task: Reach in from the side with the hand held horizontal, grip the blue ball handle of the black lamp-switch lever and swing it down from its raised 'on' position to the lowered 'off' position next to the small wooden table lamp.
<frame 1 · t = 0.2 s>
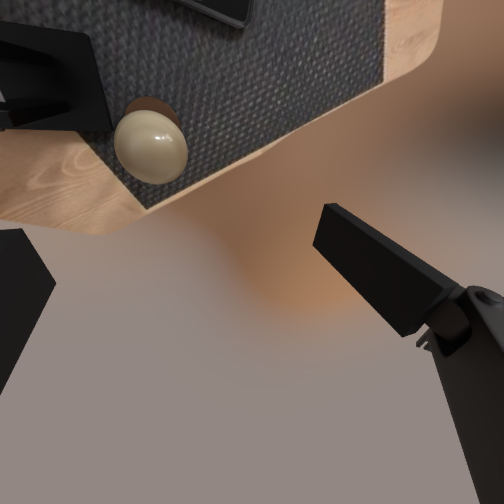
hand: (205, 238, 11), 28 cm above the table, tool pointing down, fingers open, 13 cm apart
switch bracket: (41, 82, 24), on the table
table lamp: (154, 127, 30), on the table
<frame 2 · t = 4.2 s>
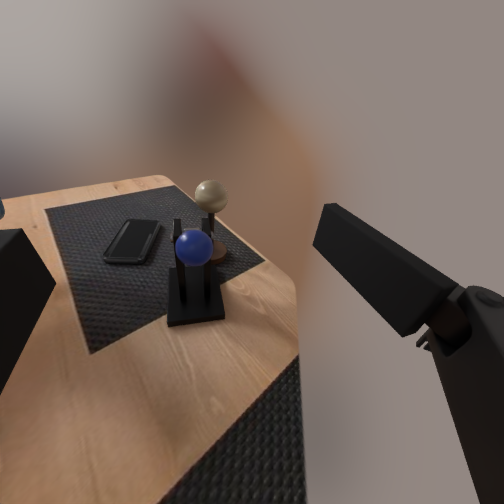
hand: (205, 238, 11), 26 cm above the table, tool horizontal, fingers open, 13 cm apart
phone: (136, 241, 49), on the table
switch lever: (193, 241, 26), point 16 cm above the table, hinge at 30.0°
switch bracket: (195, 294, 40), on the table
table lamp: (210, 254, 49), on the table
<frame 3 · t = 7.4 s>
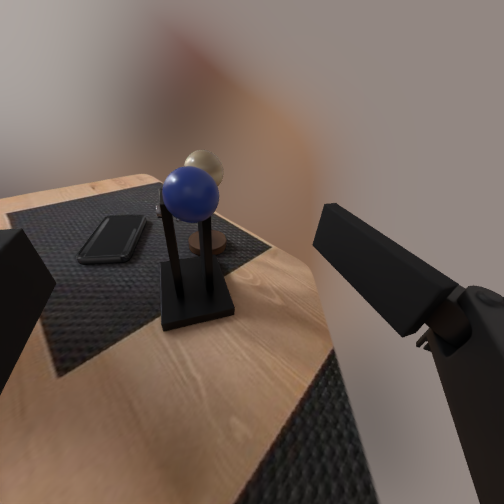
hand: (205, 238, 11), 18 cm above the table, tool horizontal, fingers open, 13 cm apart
phone: (118, 239, 41), on the table
switch lever: (187, 204, 19), point 16 cm above the table, hinge at 30.0°
switch bracket: (194, 289, 32), on the table
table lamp: (207, 245, 42), on the table
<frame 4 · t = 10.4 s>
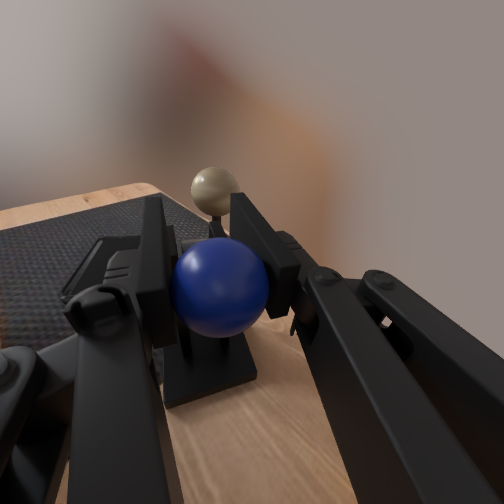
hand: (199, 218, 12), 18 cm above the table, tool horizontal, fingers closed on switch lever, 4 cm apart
phone: (111, 267, 35), on the table
switch lever: (204, 264, 13), point 16 cm above the table, hinge at 30.0°, touching gripper
switch bracket: (204, 340, 26), on the table
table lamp: (217, 274, 35), on the table
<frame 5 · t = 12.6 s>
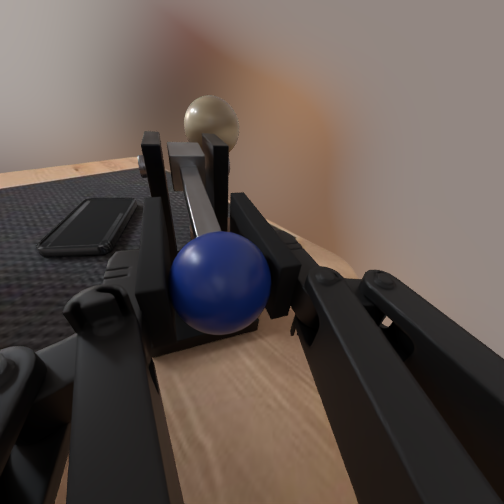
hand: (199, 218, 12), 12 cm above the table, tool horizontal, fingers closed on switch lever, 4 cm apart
phone: (98, 225, 32), on the table
switch lever: (198, 206, 11), point 12 cm above the table, hinge at -5.3°, touching gripper
switch bracket: (198, 292, 23), on the table
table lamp: (214, 234, 32), on the table
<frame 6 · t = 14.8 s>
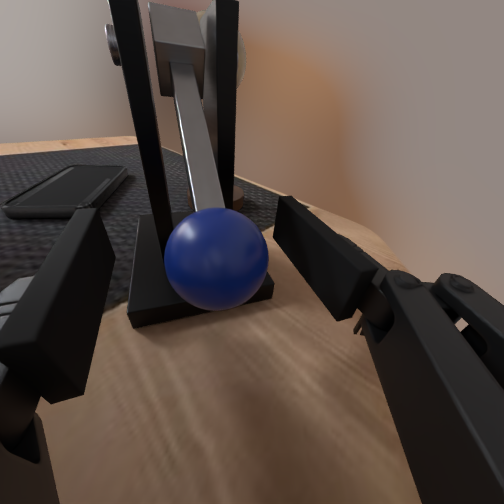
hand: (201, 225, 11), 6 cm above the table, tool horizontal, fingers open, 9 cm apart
phone: (81, 191, 28), on the table
switch lever: (195, 143, 9), point 10 cm above the table, hinge at -33.9°
switch bracket: (196, 257, 19), on the table
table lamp: (216, 202, 28), on the table
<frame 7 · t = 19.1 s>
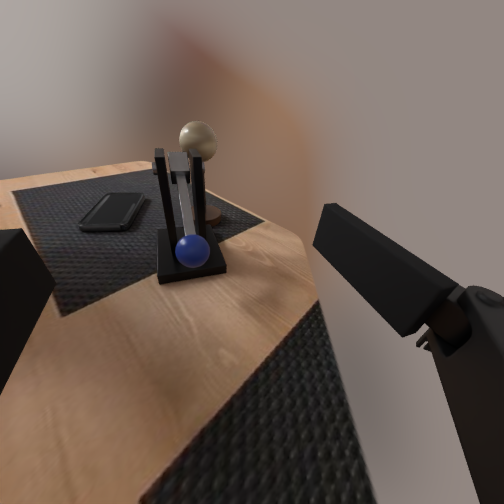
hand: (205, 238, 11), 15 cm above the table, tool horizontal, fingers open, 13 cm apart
phone: (117, 212, 43), on the table
switch lever: (185, 208, 25), point 10 cm above the table, hinge at -33.9°
switch bracket: (189, 253, 34), on the table
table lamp: (203, 219, 44), on the table
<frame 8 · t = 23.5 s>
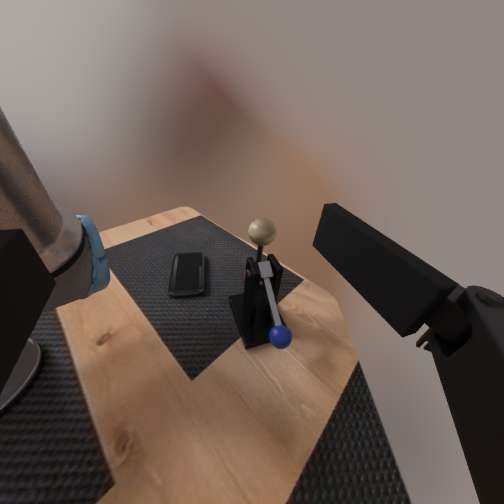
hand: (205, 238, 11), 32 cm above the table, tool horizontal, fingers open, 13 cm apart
phone: (188, 274, 55), on the table
switch lever: (271, 303, 36), point 10 cm above the table, hinge at -33.9°
switch bracket: (256, 317, 46), on the table
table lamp: (256, 279, 55), on the table
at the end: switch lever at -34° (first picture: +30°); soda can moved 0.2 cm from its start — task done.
